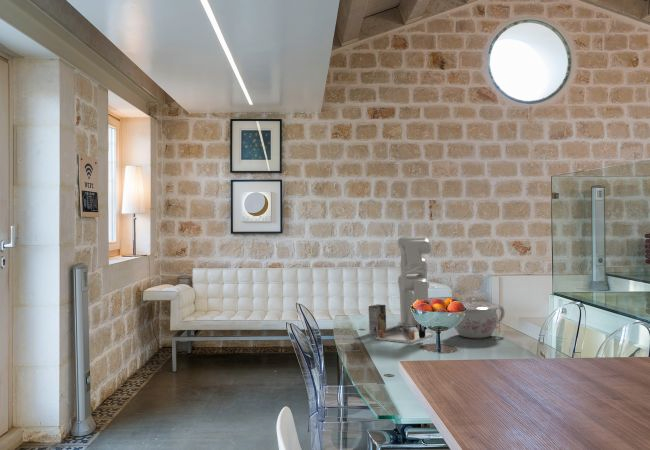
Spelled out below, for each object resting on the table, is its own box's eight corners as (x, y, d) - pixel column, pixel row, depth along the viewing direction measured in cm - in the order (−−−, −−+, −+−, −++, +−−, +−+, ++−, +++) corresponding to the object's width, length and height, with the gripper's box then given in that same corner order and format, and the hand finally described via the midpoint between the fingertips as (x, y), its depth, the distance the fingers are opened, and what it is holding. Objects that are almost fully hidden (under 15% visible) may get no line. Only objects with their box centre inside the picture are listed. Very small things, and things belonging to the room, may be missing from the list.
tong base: (399, 330, 315) (399, 321, 315) (407, 331, 312) (407, 322, 312) (379, 337, 298) (378, 328, 298) (387, 338, 294) (387, 328, 294)
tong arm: (403, 332, 310) (403, 325, 310) (407, 332, 310) (407, 325, 310) (409, 338, 291) (409, 331, 291) (414, 338, 291) (414, 331, 291)
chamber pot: (443, 339, 294) (442, 301, 294) (456, 330, 318) (455, 294, 318) (497, 343, 281) (496, 303, 281) (506, 333, 305) (505, 296, 305)
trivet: (398, 332, 318) (398, 329, 318) (432, 335, 304) (432, 333, 304) (376, 339, 299) (376, 337, 299) (412, 343, 285) (411, 341, 285)
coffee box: (377, 331, 322) (376, 304, 323) (386, 332, 319) (385, 304, 319) (369, 333, 315) (368, 306, 315) (378, 334, 311) (377, 306, 311)
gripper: (437, 303, 287) (438, 338, 287) (411, 301, 296) (413, 335, 296) (430, 305, 281) (431, 340, 281) (405, 303, 290) (406, 337, 290)
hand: (422, 337), depth 288 cm, fingers closed
